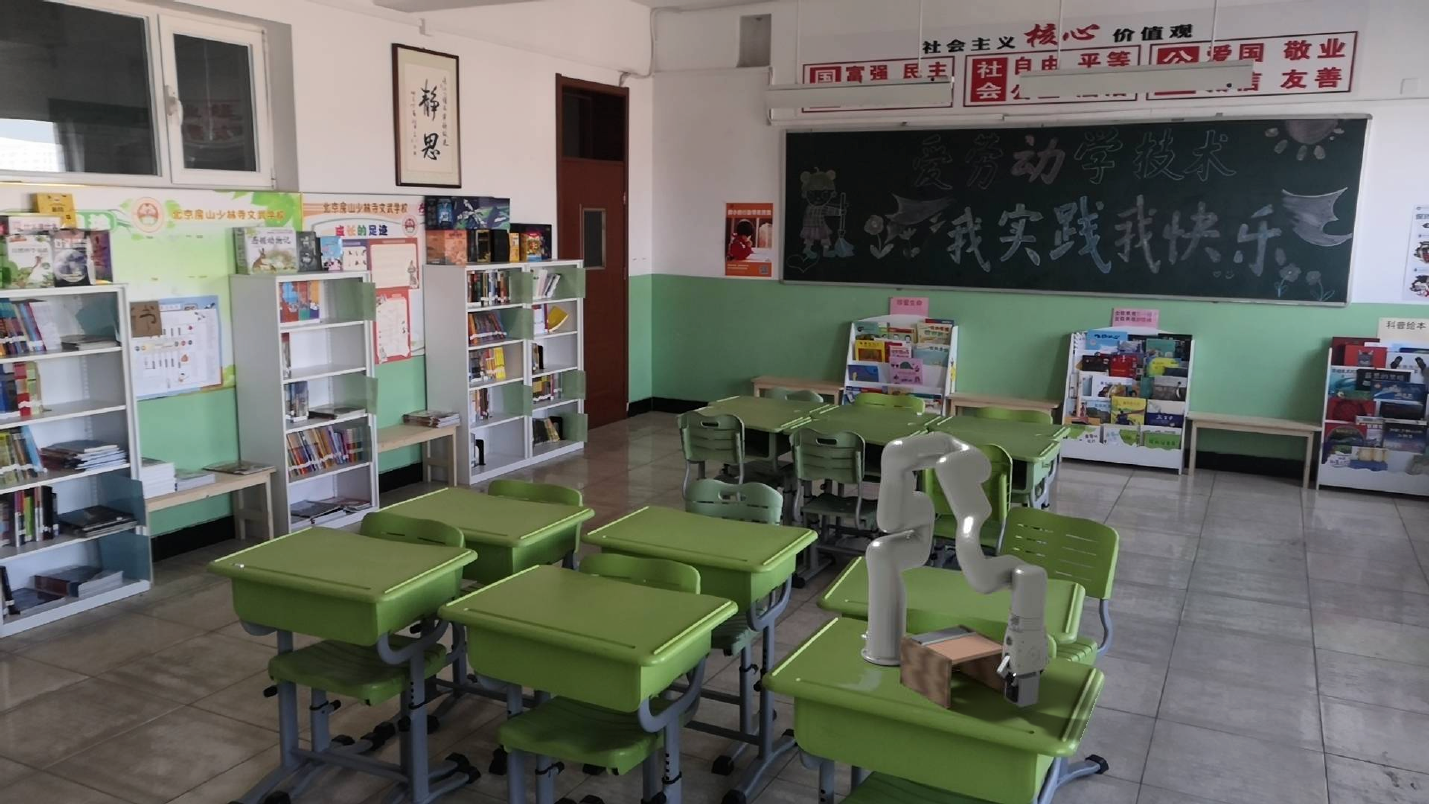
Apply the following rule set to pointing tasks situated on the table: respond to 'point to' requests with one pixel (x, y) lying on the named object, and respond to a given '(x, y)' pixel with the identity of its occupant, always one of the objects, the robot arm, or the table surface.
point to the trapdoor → (958, 644)
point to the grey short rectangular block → (1026, 689)
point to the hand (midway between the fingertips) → (1021, 697)
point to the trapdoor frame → (944, 670)
